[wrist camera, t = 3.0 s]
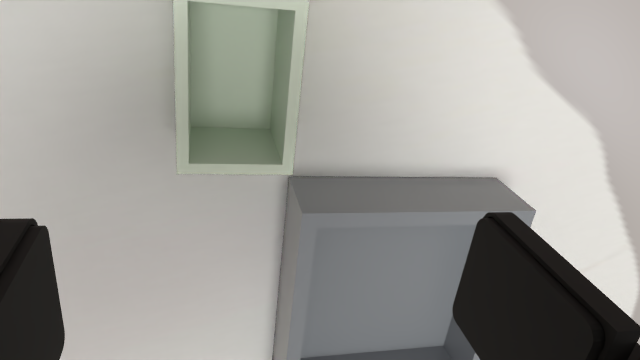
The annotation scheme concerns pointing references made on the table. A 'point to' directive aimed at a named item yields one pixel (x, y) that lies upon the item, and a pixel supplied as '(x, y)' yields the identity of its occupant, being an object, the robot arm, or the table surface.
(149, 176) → the table surface
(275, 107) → the small crate
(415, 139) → the table surface
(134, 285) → the table surface
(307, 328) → the big crate
